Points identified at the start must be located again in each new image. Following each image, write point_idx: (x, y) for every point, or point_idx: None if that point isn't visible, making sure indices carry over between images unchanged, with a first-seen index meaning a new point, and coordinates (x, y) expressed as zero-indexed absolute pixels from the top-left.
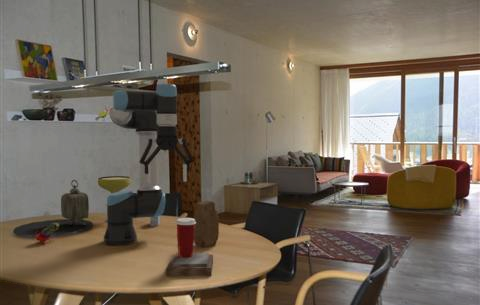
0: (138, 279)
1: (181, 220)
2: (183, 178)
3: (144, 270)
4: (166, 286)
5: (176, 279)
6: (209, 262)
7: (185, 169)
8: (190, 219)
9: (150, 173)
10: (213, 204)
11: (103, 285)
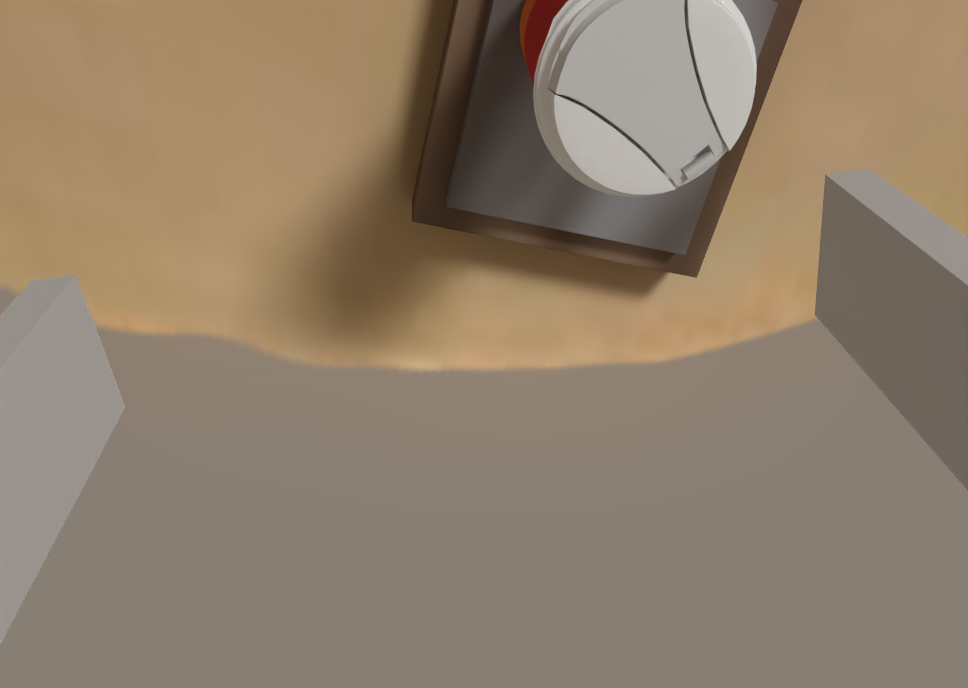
0: (234, 217)
1: (594, 140)
2: (846, 232)
3: (257, 44)
4: (405, 355)
5: (469, 266)
6: (719, 171)
7: (965, 463)
8: (705, 94)
9: (53, 537)
10: None
11: (32, 271)
